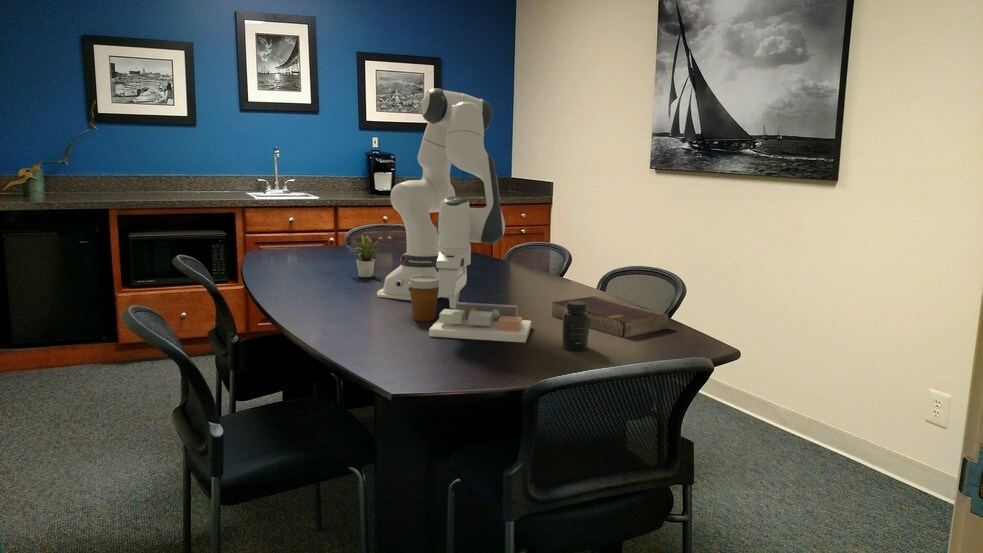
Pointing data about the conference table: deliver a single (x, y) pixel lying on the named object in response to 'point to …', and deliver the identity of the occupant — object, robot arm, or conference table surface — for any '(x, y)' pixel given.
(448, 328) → the keypad
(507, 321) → the terracotta key
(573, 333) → the supplement bottle
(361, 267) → the house plant
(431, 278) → the disposable coffee cup
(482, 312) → the grey key
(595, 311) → the hardback book
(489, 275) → the conference table surface
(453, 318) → the sage key
